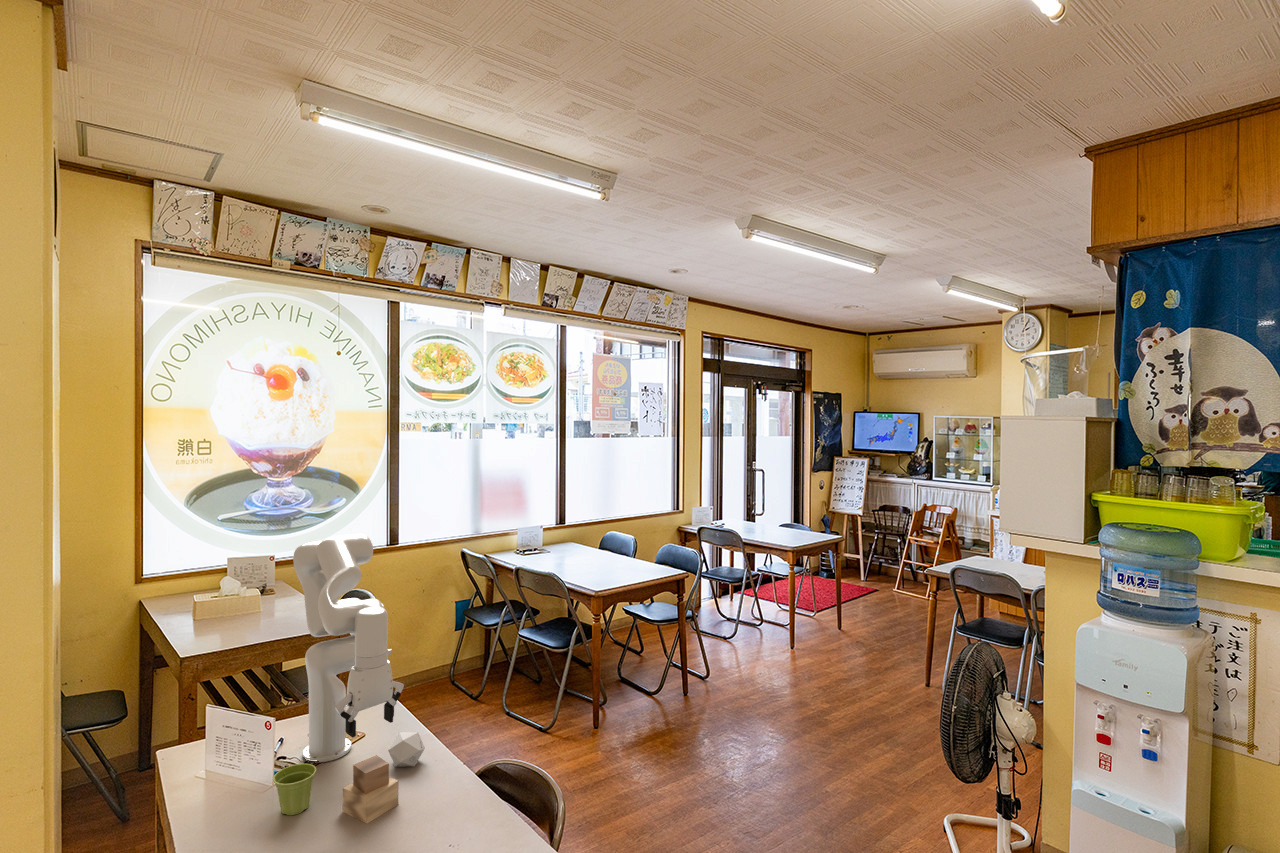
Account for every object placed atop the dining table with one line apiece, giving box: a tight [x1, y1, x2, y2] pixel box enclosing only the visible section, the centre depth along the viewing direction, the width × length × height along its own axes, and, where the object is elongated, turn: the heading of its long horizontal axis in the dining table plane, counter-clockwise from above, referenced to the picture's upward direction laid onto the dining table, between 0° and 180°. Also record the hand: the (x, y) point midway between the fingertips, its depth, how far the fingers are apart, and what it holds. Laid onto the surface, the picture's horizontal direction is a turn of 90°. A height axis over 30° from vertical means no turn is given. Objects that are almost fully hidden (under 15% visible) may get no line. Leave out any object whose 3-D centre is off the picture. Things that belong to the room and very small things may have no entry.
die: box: [387, 731, 426, 767], centre depth 183 cm, size 8×9×10 cm
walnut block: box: [352, 754, 390, 794], centre depth 162 cm, size 6×6×5 cm
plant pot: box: [272, 763, 317, 816], centre depth 161 cm, size 9×9×9 cm
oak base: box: [342, 776, 399, 824], centre depth 162 cm, size 9×9×6 cm
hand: (370, 727), depth 162 cm, fingers open, 9 cm apart
